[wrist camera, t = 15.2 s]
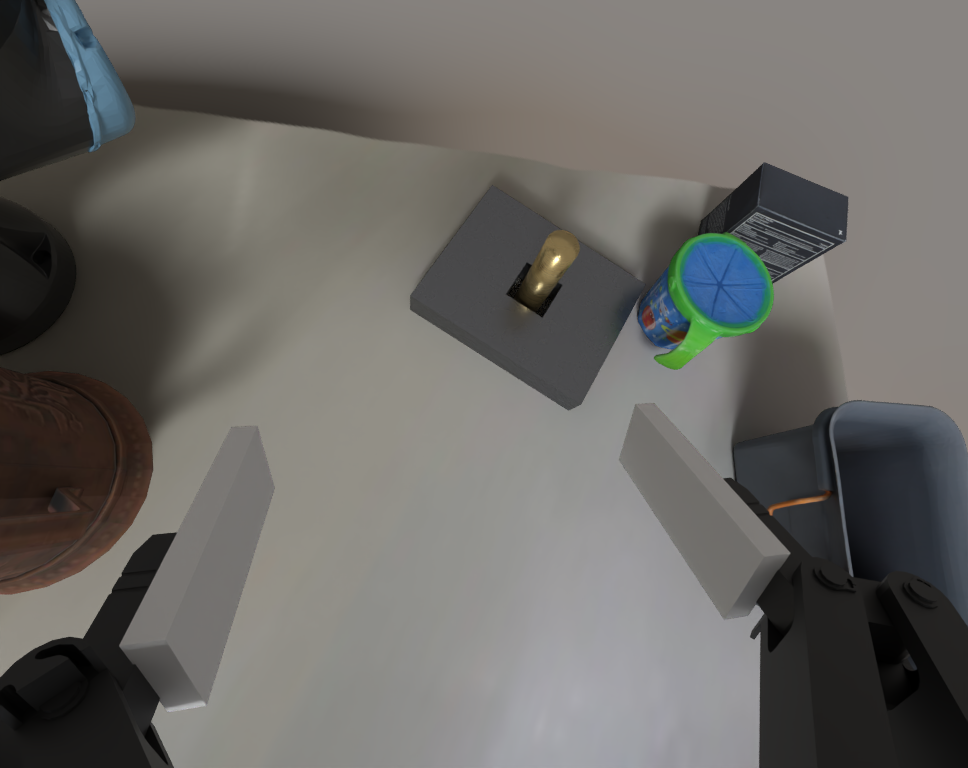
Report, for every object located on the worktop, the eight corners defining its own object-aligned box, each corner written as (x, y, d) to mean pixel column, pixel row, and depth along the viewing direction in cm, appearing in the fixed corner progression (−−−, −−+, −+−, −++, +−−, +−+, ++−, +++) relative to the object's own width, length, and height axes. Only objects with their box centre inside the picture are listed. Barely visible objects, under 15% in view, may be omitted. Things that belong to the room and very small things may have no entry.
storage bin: (839, 628, 45) (1025, 690, 32) (707, 631, 43) (847, 699, 29) (809, 429, 50) (959, 408, 37) (690, 421, 48) (803, 395, 34)
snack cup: (656, 248, 53) (713, 194, 43) (726, 297, 53) (798, 254, 43) (597, 345, 48) (645, 310, 38) (674, 398, 48) (741, 376, 38)
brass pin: (507, 306, 47) (539, 248, 36) (521, 286, 48) (556, 223, 37) (530, 321, 47) (569, 268, 36) (543, 300, 48) (585, 242, 37)
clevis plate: (410, 309, 45) (410, 295, 42) (486, 205, 50) (492, 184, 46) (568, 410, 46) (581, 404, 42) (629, 297, 50) (645, 284, 47)
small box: (772, 246, 56) (852, 194, 46) (767, 289, 54) (849, 244, 44) (700, 217, 55) (765, 157, 45) (692, 260, 53) (758, 207, 43)
